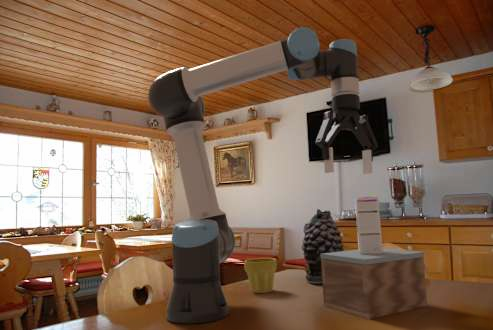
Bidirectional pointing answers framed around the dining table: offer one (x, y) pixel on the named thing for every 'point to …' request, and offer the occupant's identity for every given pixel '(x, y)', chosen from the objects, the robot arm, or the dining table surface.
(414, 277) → the walnut crate
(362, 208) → the syrup box
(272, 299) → the dining table surface
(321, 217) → the dark pine cone
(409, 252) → the crate lid
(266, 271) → the plant pot
